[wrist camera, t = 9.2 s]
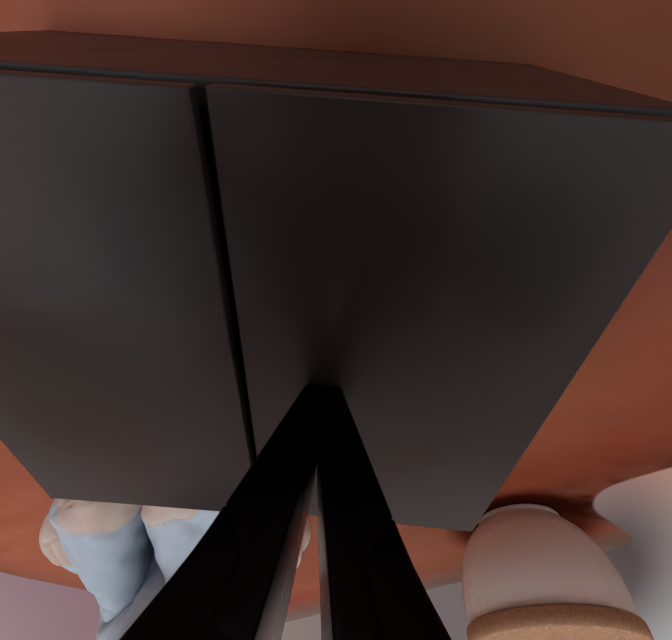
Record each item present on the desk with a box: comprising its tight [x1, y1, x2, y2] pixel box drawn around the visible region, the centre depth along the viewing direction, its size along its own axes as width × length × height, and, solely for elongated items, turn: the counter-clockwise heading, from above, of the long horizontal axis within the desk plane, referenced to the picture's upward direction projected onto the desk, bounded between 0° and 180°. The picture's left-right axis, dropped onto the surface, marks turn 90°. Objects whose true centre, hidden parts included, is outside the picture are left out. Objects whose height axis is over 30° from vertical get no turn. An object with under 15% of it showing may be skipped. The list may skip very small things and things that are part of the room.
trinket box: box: [462, 504, 654, 640], centre depth 26 cm, size 11×11×9 cm
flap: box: [205, 83, 672, 532], centre depth 9 cm, size 7×13×1 cm, turn 177°
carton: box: [0, 30, 672, 511], centre depth 12 cm, size 15×13×8 cm
